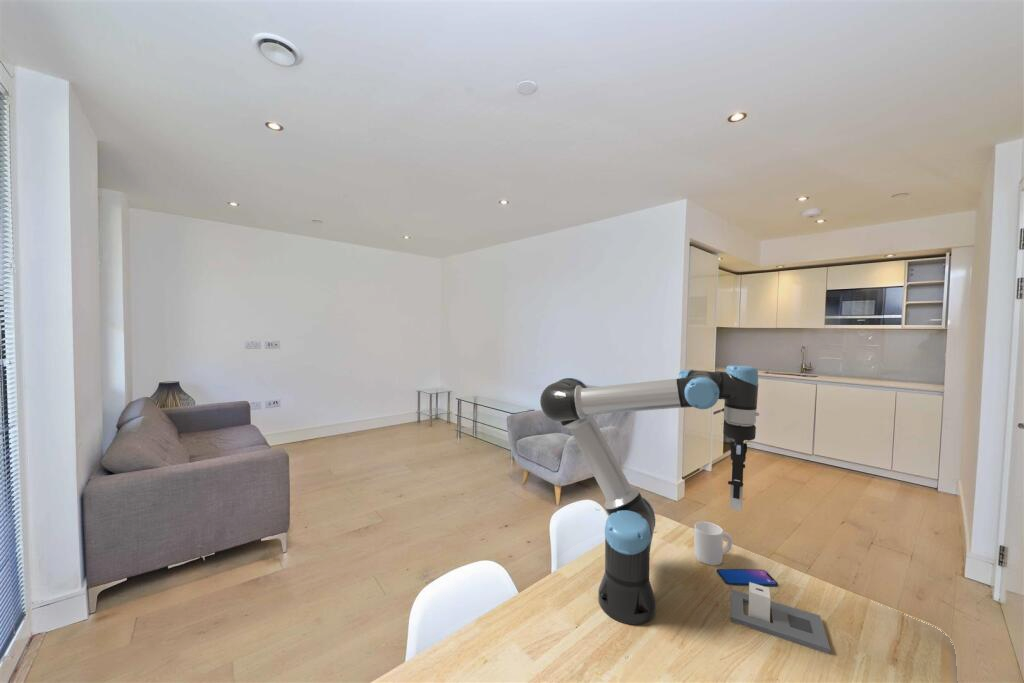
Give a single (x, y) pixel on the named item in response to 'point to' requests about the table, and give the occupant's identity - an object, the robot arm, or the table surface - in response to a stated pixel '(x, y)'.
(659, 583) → the table surface
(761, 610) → the charger
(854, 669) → the table surface
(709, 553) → the mug
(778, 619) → the outlet plate
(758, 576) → the smartphone
